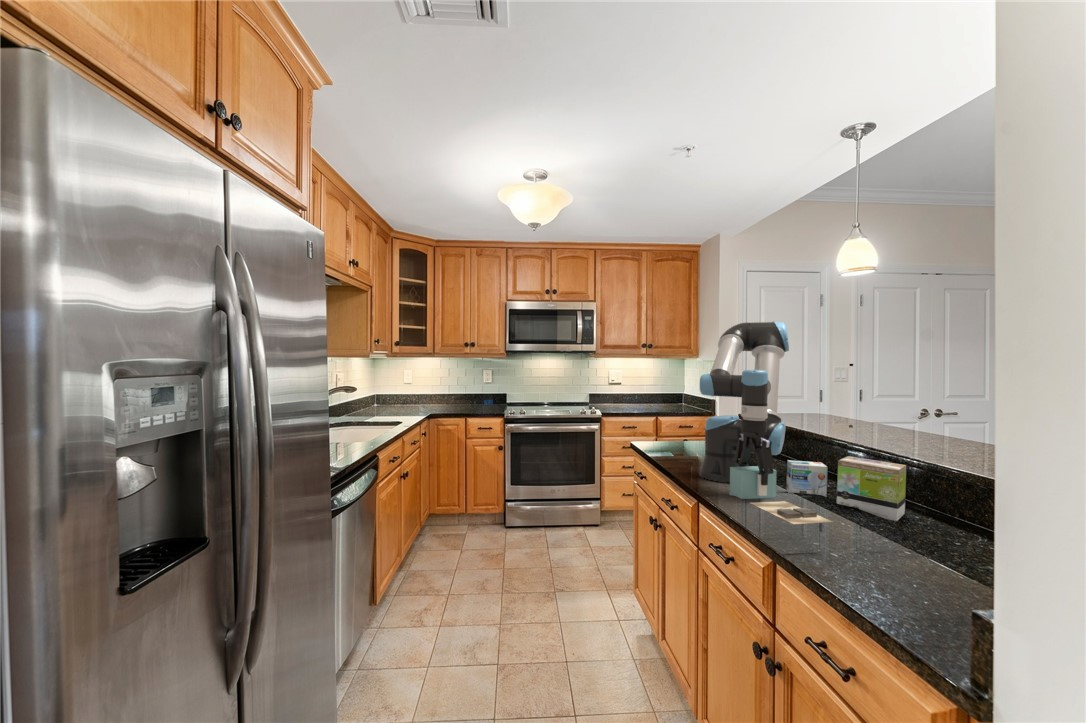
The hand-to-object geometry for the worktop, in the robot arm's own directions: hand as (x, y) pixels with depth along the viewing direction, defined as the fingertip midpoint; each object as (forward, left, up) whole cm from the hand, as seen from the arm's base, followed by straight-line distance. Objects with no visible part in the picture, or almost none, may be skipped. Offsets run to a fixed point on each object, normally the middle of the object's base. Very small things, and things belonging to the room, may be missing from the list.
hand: (752, 491), depth 145 cm
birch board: (+16, 0, -3) cm, 16 cm away
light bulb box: (-2, +21, -3) cm, 21 cm away
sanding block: (0, 0, -3) cm, 3 cm away
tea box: (+15, +28, -3) cm, 32 cm away
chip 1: (+19, -2, -1) cm, 19 cm away
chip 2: (+19, +3, -1) cm, 19 cm away
